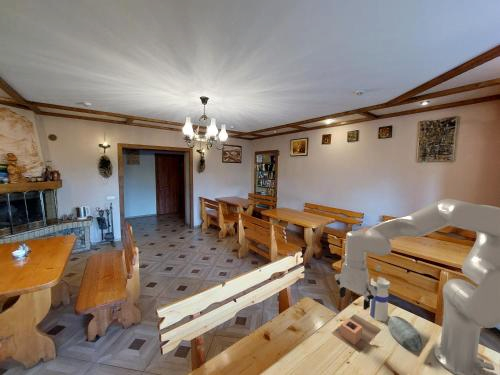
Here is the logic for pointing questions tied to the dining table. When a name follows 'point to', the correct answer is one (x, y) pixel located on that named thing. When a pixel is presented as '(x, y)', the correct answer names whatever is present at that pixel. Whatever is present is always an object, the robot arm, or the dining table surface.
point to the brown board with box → (367, 333)
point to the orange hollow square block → (351, 331)
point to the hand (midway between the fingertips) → (354, 302)
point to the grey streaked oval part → (404, 333)
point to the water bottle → (380, 298)
